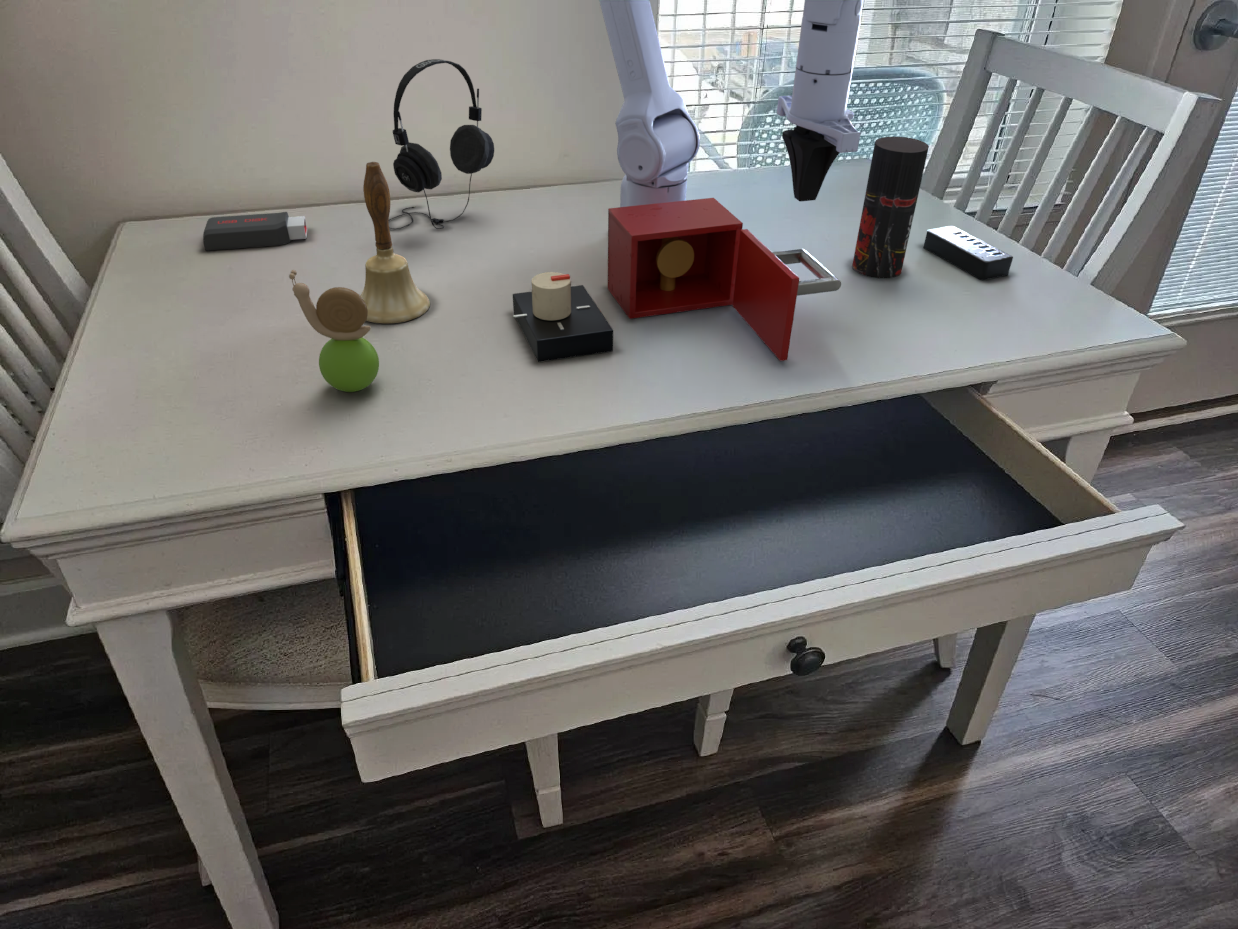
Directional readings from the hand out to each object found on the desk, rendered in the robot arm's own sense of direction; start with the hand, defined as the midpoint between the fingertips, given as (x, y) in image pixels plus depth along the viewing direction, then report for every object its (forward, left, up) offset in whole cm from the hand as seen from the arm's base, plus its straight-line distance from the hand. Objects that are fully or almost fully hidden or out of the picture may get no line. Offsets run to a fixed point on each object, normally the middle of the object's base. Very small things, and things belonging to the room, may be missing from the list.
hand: (804, 198), depth 99 cm
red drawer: (+10, -7, -10) cm, 16 cm away
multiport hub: (0, +24, -11) cm, 26 cm away
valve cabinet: (-1, -15, -10) cm, 18 cm away
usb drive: (-31, -60, -11) cm, 68 cm away
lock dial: (+4, -30, -8) cm, 32 cm away
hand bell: (-7, -46, -11) cm, 48 cm away
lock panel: (+4, -29, -10) cm, 31 cm away
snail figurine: (+9, -52, -11) cm, 54 cm away
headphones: (-32, -37, -11) cm, 50 cm away
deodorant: (-1, +12, -11) cm, 16 cm away
